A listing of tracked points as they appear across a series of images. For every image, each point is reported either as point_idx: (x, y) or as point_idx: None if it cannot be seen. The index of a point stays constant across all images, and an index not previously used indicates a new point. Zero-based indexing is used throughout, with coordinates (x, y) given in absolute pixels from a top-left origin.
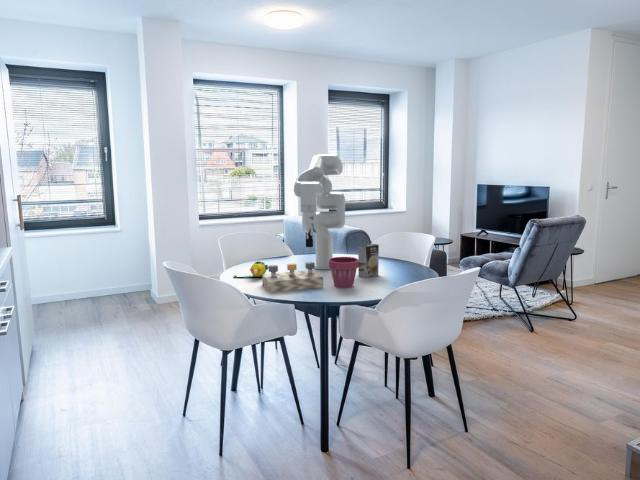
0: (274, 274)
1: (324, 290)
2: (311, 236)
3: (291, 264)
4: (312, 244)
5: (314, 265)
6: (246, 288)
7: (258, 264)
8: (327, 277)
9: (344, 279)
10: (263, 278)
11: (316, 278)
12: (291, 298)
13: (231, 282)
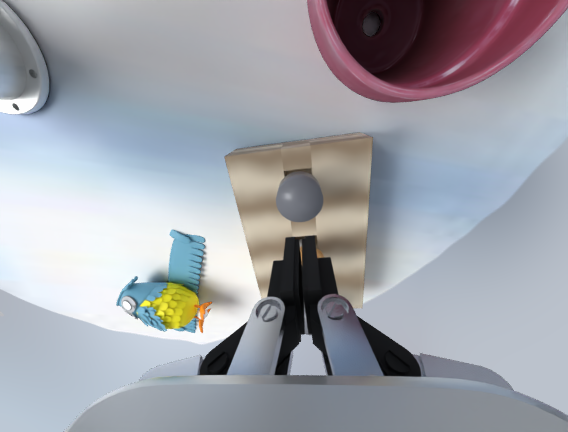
0: None
1: (408, 137)
2: (379, 345)
3: None
4: (315, 250)
5: (308, 176)
6: None
7: (174, 321)
8: (201, 80)
9: (452, 19)
10: None
11: (369, 167)
12: (443, 246)
13: None
